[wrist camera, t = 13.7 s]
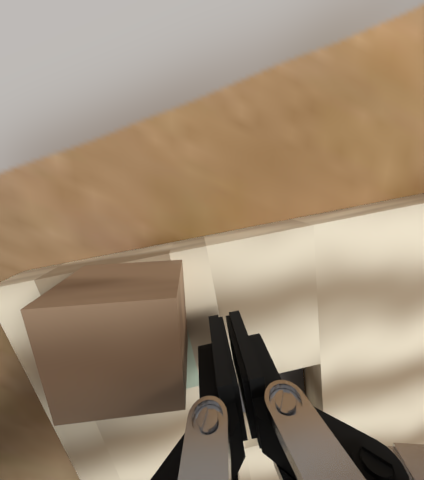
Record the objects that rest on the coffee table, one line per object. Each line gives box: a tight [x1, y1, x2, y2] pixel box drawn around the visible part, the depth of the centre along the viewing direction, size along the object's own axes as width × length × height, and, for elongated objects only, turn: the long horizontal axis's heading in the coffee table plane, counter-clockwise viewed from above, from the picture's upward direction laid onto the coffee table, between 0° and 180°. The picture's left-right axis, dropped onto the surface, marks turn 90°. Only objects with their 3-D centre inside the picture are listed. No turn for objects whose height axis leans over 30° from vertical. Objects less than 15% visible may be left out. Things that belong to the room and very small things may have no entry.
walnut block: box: [20, 260, 188, 426], centre depth 9 cm, size 5×5×4 cm
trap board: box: [0, 193, 424, 480], centre depth 15 cm, size 26×28×2 cm
